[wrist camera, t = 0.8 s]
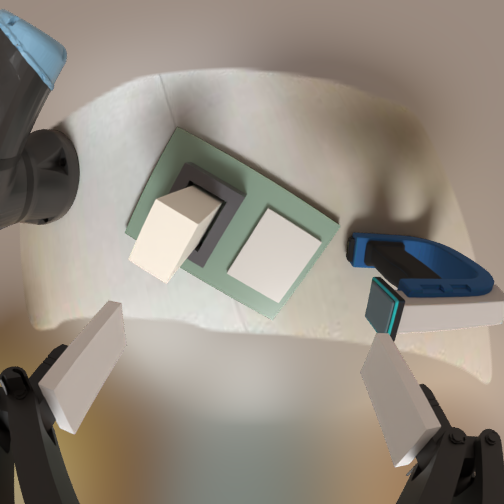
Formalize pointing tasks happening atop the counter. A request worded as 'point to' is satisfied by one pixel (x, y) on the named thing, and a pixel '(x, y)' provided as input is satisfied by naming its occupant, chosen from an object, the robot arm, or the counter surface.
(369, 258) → the handheld scanner
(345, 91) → the counter surface
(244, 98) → the counter surface
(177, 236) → the plug
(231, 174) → the green socket board
